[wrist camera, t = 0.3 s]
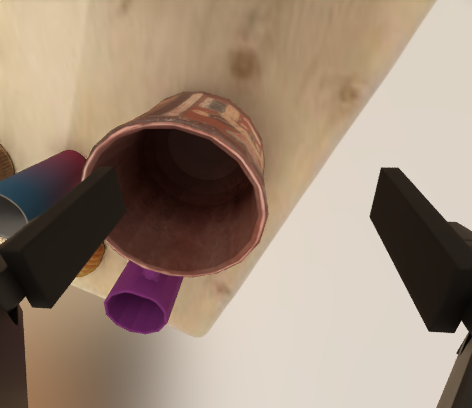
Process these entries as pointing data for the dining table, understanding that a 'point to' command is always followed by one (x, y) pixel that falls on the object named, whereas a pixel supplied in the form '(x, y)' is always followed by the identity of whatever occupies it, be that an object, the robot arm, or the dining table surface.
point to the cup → (37, 190)
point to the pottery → (186, 185)
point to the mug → (142, 299)
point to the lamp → (5, 165)
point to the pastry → (92, 262)
